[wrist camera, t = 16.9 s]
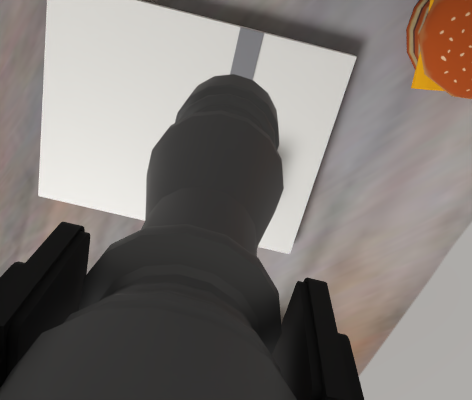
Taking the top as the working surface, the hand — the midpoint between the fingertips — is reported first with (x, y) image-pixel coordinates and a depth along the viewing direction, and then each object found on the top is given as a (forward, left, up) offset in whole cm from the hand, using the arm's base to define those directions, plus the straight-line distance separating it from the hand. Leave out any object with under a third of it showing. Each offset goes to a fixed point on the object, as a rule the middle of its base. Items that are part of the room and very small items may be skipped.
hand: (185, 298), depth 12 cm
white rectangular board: (+5, -4, -31) cm, 31 cm away
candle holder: (0, 0, -18) cm, 18 cm away
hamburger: (-9, +17, -31) cm, 37 cm away
